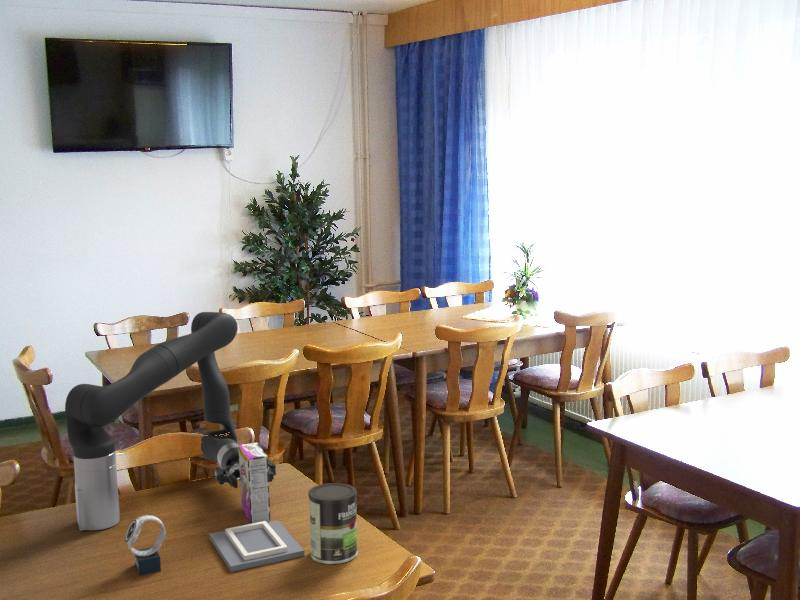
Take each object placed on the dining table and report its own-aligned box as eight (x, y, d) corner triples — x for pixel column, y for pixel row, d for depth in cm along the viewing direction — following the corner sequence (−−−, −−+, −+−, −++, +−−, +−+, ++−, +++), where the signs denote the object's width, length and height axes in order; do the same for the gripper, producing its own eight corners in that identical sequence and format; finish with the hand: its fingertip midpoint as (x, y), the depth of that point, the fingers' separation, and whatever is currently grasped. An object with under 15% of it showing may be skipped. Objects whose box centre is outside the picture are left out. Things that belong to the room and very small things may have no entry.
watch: (125, 566, 176) (122, 516, 174) (164, 558, 179) (161, 509, 178) (129, 577, 171) (126, 526, 169) (169, 569, 174) (166, 518, 173)
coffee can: (367, 550, 182) (366, 487, 180) (339, 568, 174) (337, 503, 172) (329, 539, 188) (327, 479, 186) (300, 557, 179) (298, 494, 177)
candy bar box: (240, 508, 206) (237, 444, 203) (260, 505, 208) (257, 441, 205) (250, 526, 195) (247, 458, 193) (271, 522, 197) (268, 455, 195)
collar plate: (231, 571, 173) (230, 561, 172) (209, 538, 189) (209, 529, 188) (304, 555, 180) (304, 545, 179) (277, 525, 196) (277, 516, 195)
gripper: (206, 451, 211) (223, 470, 197) (261, 442, 217) (281, 461, 203) (208, 479, 212) (225, 501, 198) (262, 470, 219) (282, 490, 204)
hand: (253, 481), depth 201 cm, fingers open, 8 cm apart
